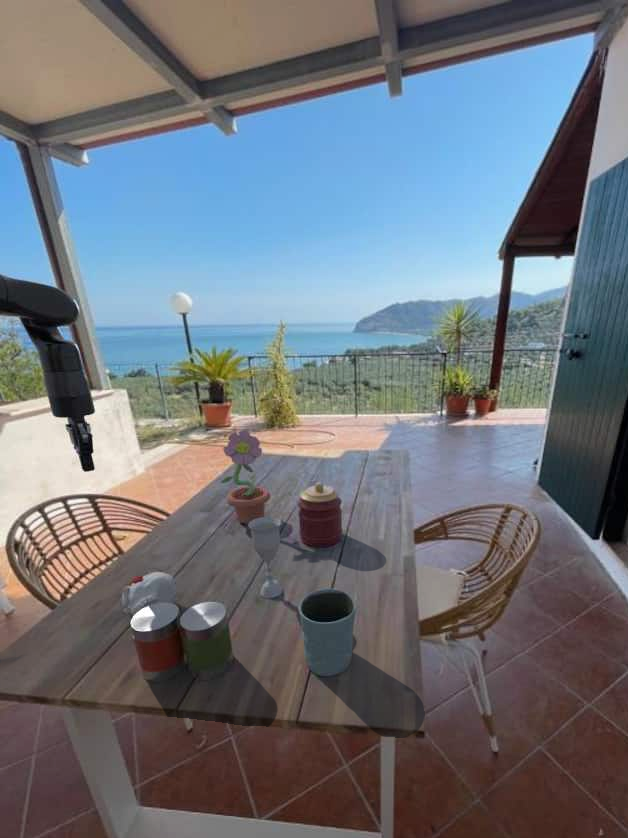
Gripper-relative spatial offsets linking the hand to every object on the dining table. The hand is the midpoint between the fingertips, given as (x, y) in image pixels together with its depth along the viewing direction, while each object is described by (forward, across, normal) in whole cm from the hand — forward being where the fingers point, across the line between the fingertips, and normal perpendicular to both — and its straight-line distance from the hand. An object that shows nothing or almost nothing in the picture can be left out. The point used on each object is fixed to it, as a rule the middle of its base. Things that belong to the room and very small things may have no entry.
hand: (88, 470), depth 88 cm
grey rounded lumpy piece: (+29, +19, +3) cm, 35 cm away
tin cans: (+29, +40, +2) cm, 50 cm away
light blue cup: (+29, +57, +22) cm, 68 cm away
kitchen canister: (+29, +18, +51) cm, 62 cm away
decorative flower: (+29, -8, +41) cm, 51 cm away
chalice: (+29, +32, +25) cm, 50 cm away
